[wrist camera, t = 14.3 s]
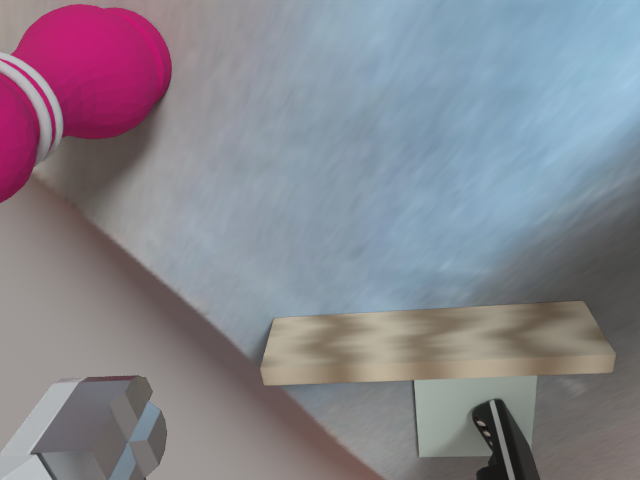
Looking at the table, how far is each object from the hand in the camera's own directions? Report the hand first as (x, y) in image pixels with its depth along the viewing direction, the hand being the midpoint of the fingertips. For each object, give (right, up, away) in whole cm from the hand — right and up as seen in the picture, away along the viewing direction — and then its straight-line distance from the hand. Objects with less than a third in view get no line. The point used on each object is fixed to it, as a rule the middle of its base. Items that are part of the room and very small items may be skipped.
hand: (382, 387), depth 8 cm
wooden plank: (+7, -4, +32) cm, 33 cm away
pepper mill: (-14, +14, +25) cm, 32 cm away
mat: (+13, -13, +37) cm, 41 cm away
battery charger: (+14, -14, +37) cm, 42 cm away
